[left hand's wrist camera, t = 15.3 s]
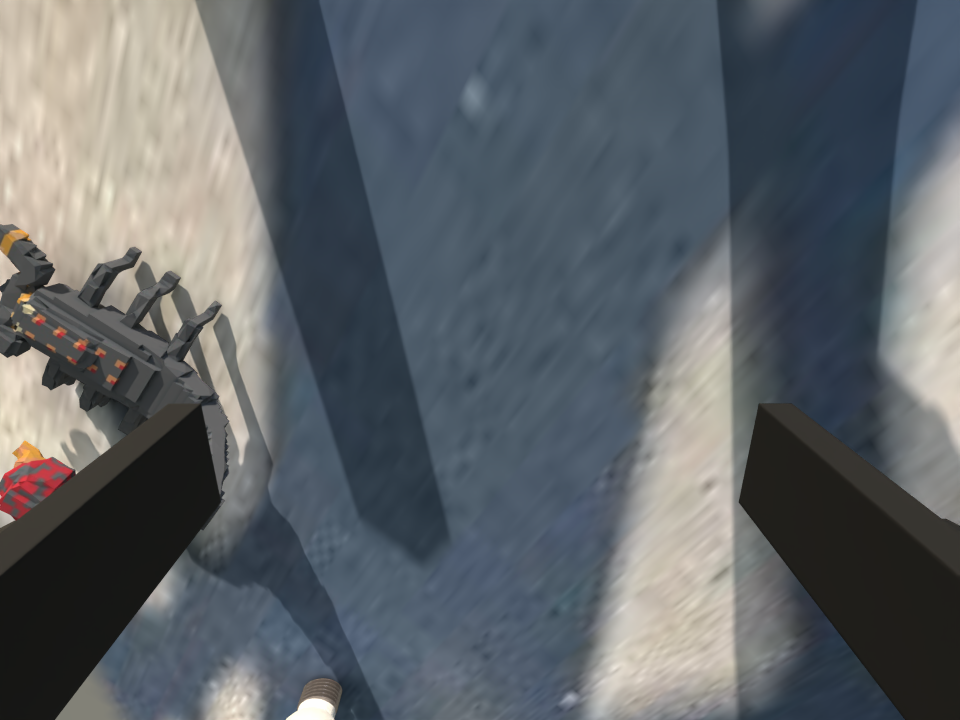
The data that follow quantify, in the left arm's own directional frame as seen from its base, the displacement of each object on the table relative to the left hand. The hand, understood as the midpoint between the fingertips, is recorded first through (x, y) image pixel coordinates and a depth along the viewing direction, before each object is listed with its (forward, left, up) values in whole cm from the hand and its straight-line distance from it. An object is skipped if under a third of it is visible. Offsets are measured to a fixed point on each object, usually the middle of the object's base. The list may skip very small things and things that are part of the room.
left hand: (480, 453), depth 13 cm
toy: (+19, -21, -29) cm, 40 cm away
